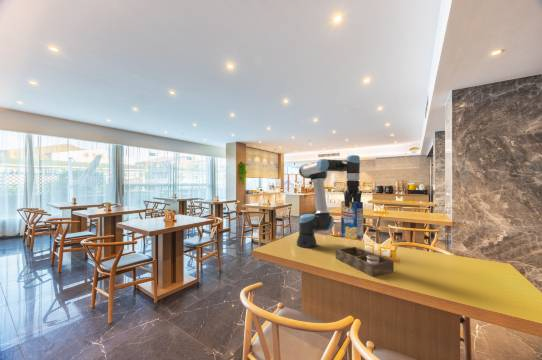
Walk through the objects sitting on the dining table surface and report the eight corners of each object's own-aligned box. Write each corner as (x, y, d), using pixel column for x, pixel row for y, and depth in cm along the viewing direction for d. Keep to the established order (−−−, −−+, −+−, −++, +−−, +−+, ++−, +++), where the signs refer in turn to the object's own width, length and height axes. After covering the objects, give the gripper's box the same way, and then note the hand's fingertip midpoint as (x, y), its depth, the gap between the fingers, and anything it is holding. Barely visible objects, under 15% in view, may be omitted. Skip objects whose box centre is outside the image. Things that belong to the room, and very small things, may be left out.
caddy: (335, 258, 139) (336, 249, 139) (354, 255, 145) (354, 246, 145) (372, 276, 113) (373, 265, 113) (393, 272, 120) (393, 261, 120)
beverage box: (357, 239, 128) (356, 202, 129) (341, 236, 137) (340, 201, 138) (363, 238, 132) (363, 202, 133) (347, 235, 141) (347, 201, 142)
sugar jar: (363, 268, 124) (363, 255, 124) (371, 266, 127) (372, 254, 127) (373, 272, 118) (373, 259, 118) (381, 270, 121) (381, 258, 121)
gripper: (347, 180, 128) (346, 219, 128) (367, 180, 134) (366, 218, 134) (338, 180, 135) (338, 217, 135) (358, 180, 141) (357, 216, 141)
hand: (352, 218), depth 135 cm, fingers open, 3 cm apart
